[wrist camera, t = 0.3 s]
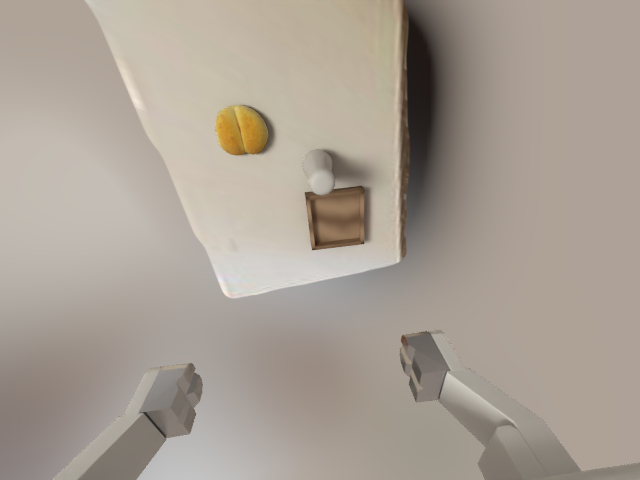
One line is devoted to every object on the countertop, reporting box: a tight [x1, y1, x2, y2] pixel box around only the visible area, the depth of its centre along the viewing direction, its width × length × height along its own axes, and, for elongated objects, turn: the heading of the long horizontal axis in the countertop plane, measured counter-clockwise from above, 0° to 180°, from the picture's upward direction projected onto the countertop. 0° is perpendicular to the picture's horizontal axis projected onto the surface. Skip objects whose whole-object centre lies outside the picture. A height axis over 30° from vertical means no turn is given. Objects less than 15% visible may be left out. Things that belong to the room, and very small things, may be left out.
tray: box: [305, 186, 364, 250], centre depth 57 cm, size 13×12×2 cm
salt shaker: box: [302, 150, 335, 195], centre depth 46 cm, size 6×6×13 cm
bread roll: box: [215, 105, 268, 155], centre depth 46 cm, size 8×9×4 cm
